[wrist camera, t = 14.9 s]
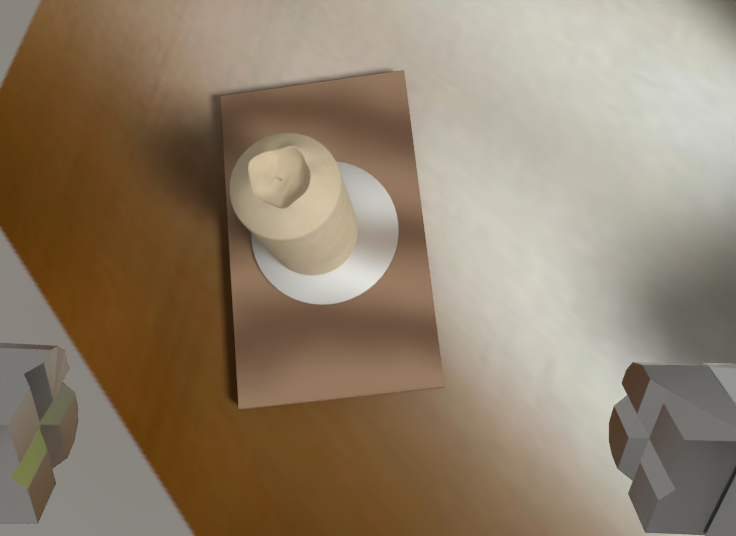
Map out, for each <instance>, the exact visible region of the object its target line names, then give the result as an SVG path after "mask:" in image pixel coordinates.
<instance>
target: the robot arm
mask: <svg viewBox="0 0 736 536" xmlns="http://www.w3.org/2000/svg"><path fill="white" fill-rule="evenodd" d="M68 370H69V365H68V361H67V357H66V354H65V351H64V350H63V349H62V348H60V347H59V346H51V345H31V344H11V343H0V524H37V523H38V522H39V520H40V517H41V515H42V513H43V511H44V509H45V506H46V504H47V502H48V500H49V498H50V495H51V493H52V491H53V489H54V487H55V484H56V482H55V478H54V474H53V470H52V469H53V468H54V467H56V466H57V465H58V464H60V463H61V462H62V461H64V460H65V459H66V458H67V457H68V455H69V453H70V450H71V448H72V445H73V443H74V440H75V435H76V430H77V424H78V406H77V400H76V396H75V392H74V391H73V390H72V389H71V388H69V387H68V386H67V385H66V384H65V383H64V382H63V380H64V378H65V376H66V374H67V372H68ZM622 385H623V387H624V389H625V391H626V393H627V396H626V397H624V398H623V399H622V400H621V401H619V402H618V403H617V404H616V405H614V408H613V411H612V415H611V418H610V422H609V443H610V448H611V453H612V456H613V459H614V461H615V464H616V466H617V468H618V469H619V470H620V471H621V472H622V473H624V474H625V475H626V476H627V477H629V478H630V479H631V480H632V481H633V482H632V485H631V488H630V490H629V493H628V494H629V497H630V499H631V501H632V503H633V506H634V508H635V510H636V513H637V515H638V517H639V519H640V522H641V524H642V526H643V529H644V531H645V533H668V534H691V535H705V536H736V364H735V363H700V364H685V363H641V362H633V363H632V364H631V365H630V366H629V367H628V369H627V370H626V372H625V375H624V378H623V381H622Z"/></svg>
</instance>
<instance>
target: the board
mask: <svg viewBox="0 0 736 536" xmlns="http://www.w3.org/2000/svg"><path fill="white" fill-rule="evenodd" d="M220 101H221V118H222V135H223V152H224V169H225V186H226V203H227V220H228V237H229V253H230V270H231V287H232V304H233V321H234V338H235V355H236V372H237V388H238V405H239V409H252V408H261V407H270V406H279V405H289V404H298V403H307V402H316V401H325V400H334V399H343V398H353V397H362V396H371V395H380V394H389V393H398V392H407V391H417V390H426V389H435V388H444V382H443V374H442V366H441V358H440V350H439V342H438V334H437V327H436V319H435V311H434V303H433V295H432V287H431V279H430V271H429V263H428V256H427V248H426V240H425V232H424V224H423V216H422V208H421V200H420V193H419V185H418V177H417V169H416V161H415V153H414V145H413V137H412V130H411V122H410V114H409V106H408V98H407V90H406V82H405V74H404V70H402V71H395V72H388V73H381V74H374V75H366V76H359V77H352V78H345V79H338V80H331V81H324V82H317V83H310V84H303V85H296V86H289V87H282V88H274V89H267V90H260V91H253V92H246V93H239V94H232V95H225V96H220ZM279 133H298V134H303V135H306V136H309V137H311V138H313V139H315V140H317V141H318V142H320V143H321V144H323V145H324V146H325V147H326V148H327V149H328V150H329V151H330V153H331V154H332V155H333V157H334V158H335V160H336V163H337V165H338V167H339V170H340V173H341V175H342V178H343V181H344V184H345V186H346V189H347V192H348V195H349V197H350V200H351V203H352V206H353V209H354V211H355V215H356V218H357V223H358V237H357V241H356V245H355V247H354V250H353V251H352V253H351V255H350V256H349V258H348V259H347V260H346V261H345V262H344V263H343V264H342V265H341V266H339V267H338V268H336V269H335V270H333V271H331V272H329V273H325V274H322V275H313V276H310V275H303V274H298V273H296V272H293V271H291V270H289V269H287V268H286V267H285V266H283V265H282V264H281V263H280V262H279V261H278V260H277V259H276V258H275V257H274V256H273V255H272V254H271V253H270V252H269V251H268V250H267V249H266V248H265V247H264V246H263V245H262V244H261V242H260V241H259V240H258V239H257V238H256V237H255V236H254V235H253V234H252V233H251V232H250V231H249V230H248V229H247V228H246V227H245V226H244V224H243V223H242V222H241V221H240V220H239V218H238V217H237V215H236V213H235V212H234V209H233V207H232V204H231V200H230V193H229V191H230V179H231V175H232V172H233V169H234V167H235V165H236V163H237V161H238V160H239V158H240V157H241V156H242V154H243V153H244V152H245V151H246V150H247V149H248V148H249V147H250V146H252V145H253V144H254V143H256V142H258V141H259V140H261V139H263V138H265V137H268V136H271V135H274V134H279Z"/></svg>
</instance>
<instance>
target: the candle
mask: <svg viewBox="0 0 736 536" xmlns="http://www.w3.org/2000/svg"><path fill="white" fill-rule="evenodd" d="M229 193H230V200H231V204H232V207H233V209H234V212H235V213H236V215H237V217H238V218H239V220H240V221H241V222H242V223H243V224H244V226H245V227H246V228H247V229H248V230H249V231H250V232H251V233H252V234H253V235H254V236H255V237H256V238H257V239H258V240H259V241H260V242H261V244H262V245H263V246H264V247H265V248H266V249H267V250H268V251H269V252H270V253H271V254H272V255H273V256H274V257H275V258H276V259H277V260H278V261H279V262H280V263H281V264H282V265H283V266H285V267H286V268H287V269H289V270H291V271H293V272H296V273H298V274H303V275H310V276H313V275H322V274H325V273H329V272H331V271H333V270H335V269H336V268H338V267H339V266H341V265H342V264H343V263H344V262H345V261H346V260H347V259H348V258H349V256H350V255H351V253H352V251H353V250H354V247H355V245H356V241H357V237H358V223H357V218H356V215H355V211H354V209H353V206H352V203H351V200H350V197H349V195H348V192H347V189H346V186H345V184H344V181H343V178H342V175H341V173H340V170H339V167H338V165H337V163H336V160H335V158H334V157H333V155H332V154H331V153H330V151H329V150H328V149H327V148H326V147H325V146H324V145H323V144H321V143H320V142H318V141H317V140H315V139H313V138H311V137H309V136H306V135H303V134H298V133H279V134H274V135H271V136H268V137H265V138H263V139H261V140H259V141H258V142H256V143H254V144H253V145H252V146H250V147H249V148H248V149H247V150H246V151H245V152H244V153H243V154H242V156H241V157H240V158H239V160H238V161H237V163H236V165H235V167H234V169H233V172H232V175H231V179H230V191H229Z"/></svg>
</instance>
